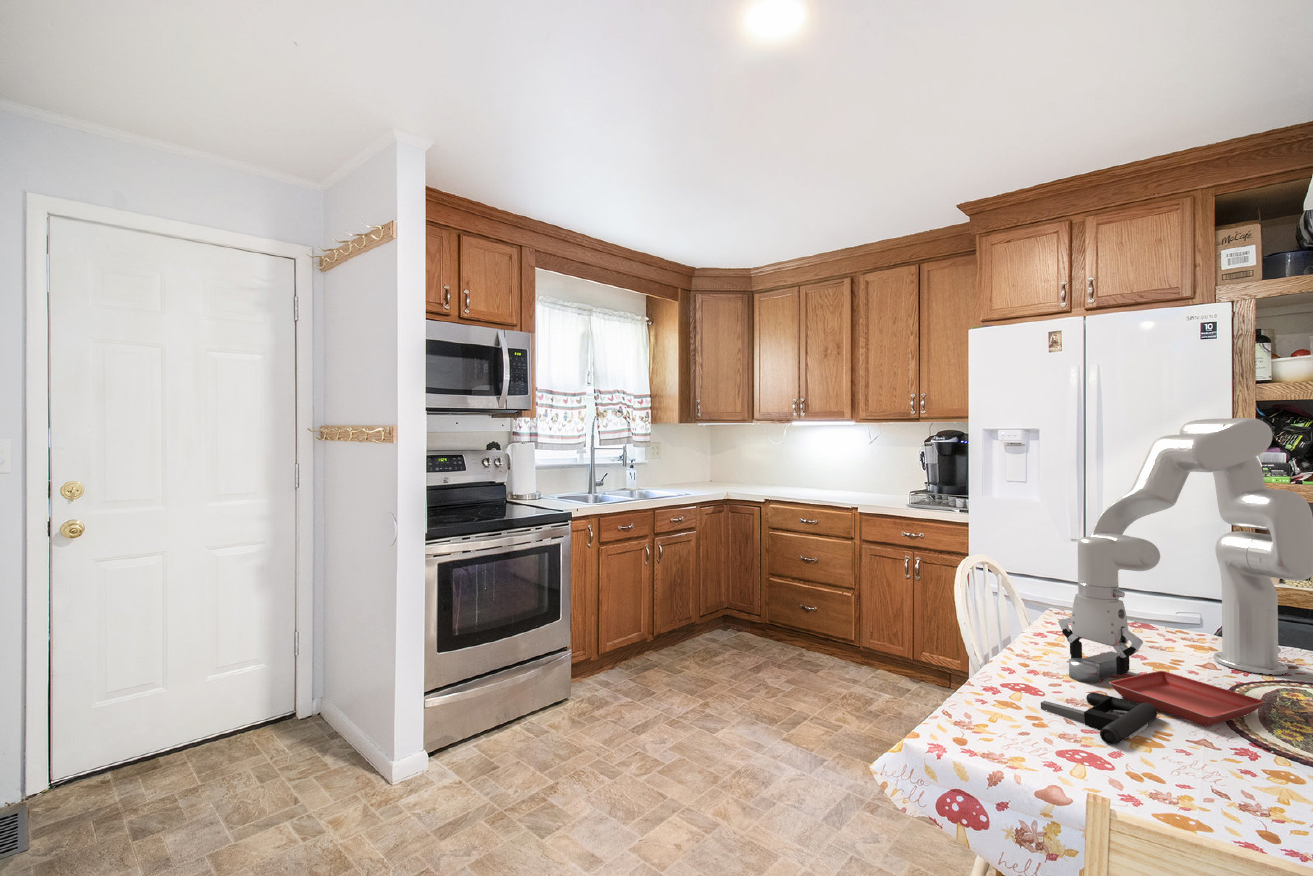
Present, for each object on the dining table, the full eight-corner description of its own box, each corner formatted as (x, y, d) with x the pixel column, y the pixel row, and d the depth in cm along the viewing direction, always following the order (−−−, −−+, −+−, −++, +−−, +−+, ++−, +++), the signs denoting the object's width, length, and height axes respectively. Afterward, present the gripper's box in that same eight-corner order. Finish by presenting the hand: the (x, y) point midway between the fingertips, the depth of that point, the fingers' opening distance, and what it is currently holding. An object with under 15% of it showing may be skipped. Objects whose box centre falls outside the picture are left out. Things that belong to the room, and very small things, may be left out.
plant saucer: (1107, 696, 128) (1106, 680, 128) (1161, 684, 134) (1161, 669, 134) (1211, 735, 111) (1210, 717, 111) (1267, 718, 117) (1267, 701, 117)
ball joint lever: (1106, 665, 145) (1106, 649, 145) (1132, 673, 139) (1132, 657, 139) (1063, 676, 138) (1063, 660, 138) (1089, 685, 133) (1089, 668, 133)
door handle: (1025, 705, 118) (1125, 733, 104) (1071, 682, 129) (1166, 705, 116) (1027, 723, 118) (1126, 753, 104) (1072, 698, 129) (1167, 723, 115)
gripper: (1151, 598, 133) (1151, 677, 132) (1069, 582, 148) (1069, 652, 148) (1131, 602, 129) (1131, 682, 129) (1049, 585, 145) (1050, 657, 145)
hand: (1098, 666), depth 139 cm, fingers open, 9 cm apart
